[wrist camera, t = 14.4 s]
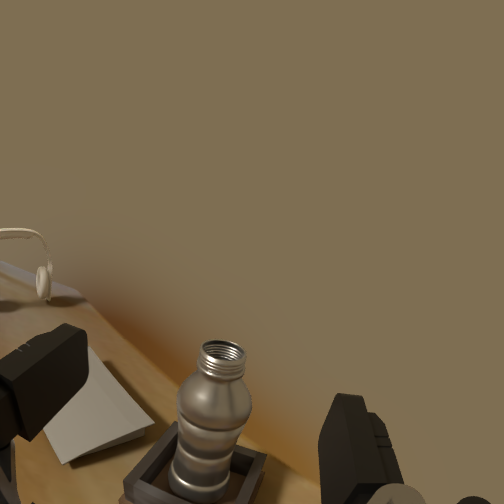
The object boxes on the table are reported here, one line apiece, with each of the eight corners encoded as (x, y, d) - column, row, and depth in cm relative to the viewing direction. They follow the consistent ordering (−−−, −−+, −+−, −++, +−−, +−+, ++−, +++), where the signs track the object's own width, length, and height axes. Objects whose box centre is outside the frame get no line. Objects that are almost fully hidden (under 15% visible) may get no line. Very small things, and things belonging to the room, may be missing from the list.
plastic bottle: (174, 464, 32) (190, 324, 28) (229, 476, 32) (266, 340, 28) (161, 502, 26) (170, 359, 22) (222, 517, 26) (264, 380, 22)
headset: (-24, 314, 48) (-29, 232, 45) (-24, 301, 53) (-28, 224, 49) (55, 308, 63) (57, 231, 60) (48, 296, 68) (50, 224, 64)
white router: (95, 359, 51) (95, 340, 51) (169, 443, 37) (171, 424, 36) (18, 372, 40) (14, 353, 39) (68, 479, 26) (63, 460, 25)
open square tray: (263, 476, 34) (272, 452, 33) (231, 552, 22) (240, 535, 21) (170, 442, 37) (172, 416, 36) (119, 503, 25) (115, 480, 24)
